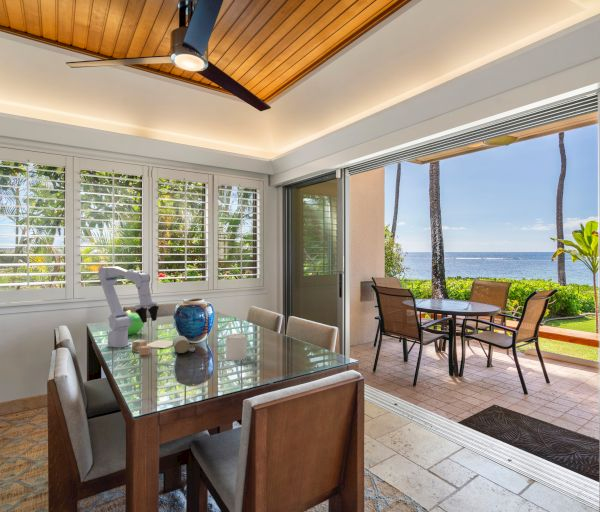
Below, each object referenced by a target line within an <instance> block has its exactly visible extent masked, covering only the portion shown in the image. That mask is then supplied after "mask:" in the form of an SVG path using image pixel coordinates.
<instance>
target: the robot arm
mask: <svg viewBox="0 0 600 512" xmlns="http://www.w3.org/2000/svg"><path fill="white" fill-rule="evenodd" d="M120 276H121V277H124V278H125V280H127V281H130V282H133V284H134V285H135V287H136V289H137V293H138V298H139V304H136V305H135V309H134V311H135V313H137V314H138V315H139V317H140V318H141V320H142V322H143V323H144V324H145V323H148V319H147V318H148V317H147V311H148V312H149V315H150V319H151V322H154V321H157V319H158V317H157V316H158V311H159V309H160V308H159V305H158V302H155V301H154V302H153V300H152V296H151V295H152V294H151V290H150V285H149V284H150V281H151V276H150V274H149V273H147V272H141V271H140V270H138V271H136V270H135V269H134V268H131V269H128V270H127V269H126V268H125V269H124V268H122V267H121V266H117V265H116V266H101V267H100V268H99V269H98V271H97V277H98V280H99V282H100V284H101V288H102V290H103V292H104V293H103V294H104V295H105V299H106V301H107V304H108V307H109V310H110V313H111V314H110V316H109V317H108V318H107V319H108V325H109V328H110V330H109V331H108V333H107V345H106V347H107V348H108V347H109V348H125V347H127V346H131V345H132V342H129V341H128V340H129V338H128V337H129V335H128V328H129V326H130V325H131V318H130V317H129V316H128V313H127V312H126V311H124V310H123V307H122V305H121V302H120V301H119V297H118V294H117V292H116V289H115V286H114V284H116V283H117V281H118V280H119V278H120ZM130 344H131V345H130Z"/></svg>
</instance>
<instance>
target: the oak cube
mask: <svg viewBox="0 0 600 512" xmlns="http://www.w3.org/2000/svg"><path fill="white" fill-rule="evenodd" d="M147 344H148V340H147V339H137V340H134V341H133V340H132V341H131V352H134V351H139V352H138V353H140V347H142V346H147Z"/></svg>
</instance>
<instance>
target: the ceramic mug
mask: <svg viewBox="0 0 600 512" xmlns="http://www.w3.org/2000/svg"><path fill="white" fill-rule="evenodd" d="M172 341H173V346H172V347H173V349H174V351H175V352H176V353H177V354H180V353H183V354H185V353H187V352H188V351H190V352H195V350H196V347H194V346H193V345H191V344H190V343H189V341H188V339H187V337H185V336H184V335H178V336H176V337H175V338H174V339H173V340H172Z"/></svg>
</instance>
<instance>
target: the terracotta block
mask: <svg viewBox="0 0 600 512" xmlns="http://www.w3.org/2000/svg"><path fill="white" fill-rule="evenodd" d="M151 349H152V348H151V346H142V347H140V352H139V357H143V356H142V355H148V356H150V355H151V354H150V353H151Z"/></svg>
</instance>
